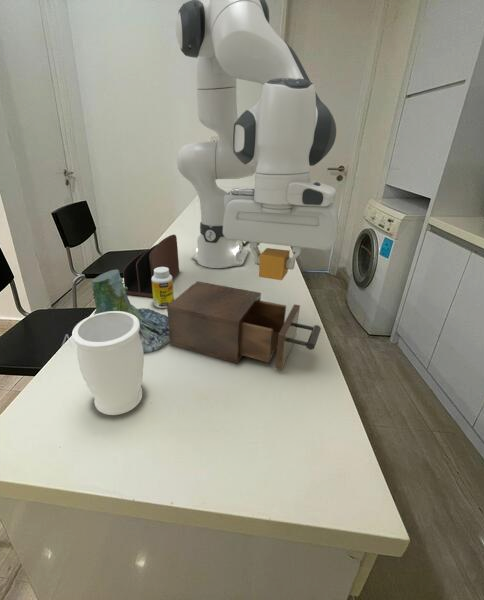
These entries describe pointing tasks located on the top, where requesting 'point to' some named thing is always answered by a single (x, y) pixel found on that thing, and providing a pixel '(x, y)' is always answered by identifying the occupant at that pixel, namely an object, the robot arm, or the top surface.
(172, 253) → the letter holder
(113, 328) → the jar
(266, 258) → the block
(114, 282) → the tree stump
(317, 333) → the drawer
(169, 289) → the supplement bottle
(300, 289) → the top surface
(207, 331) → the cabinet
